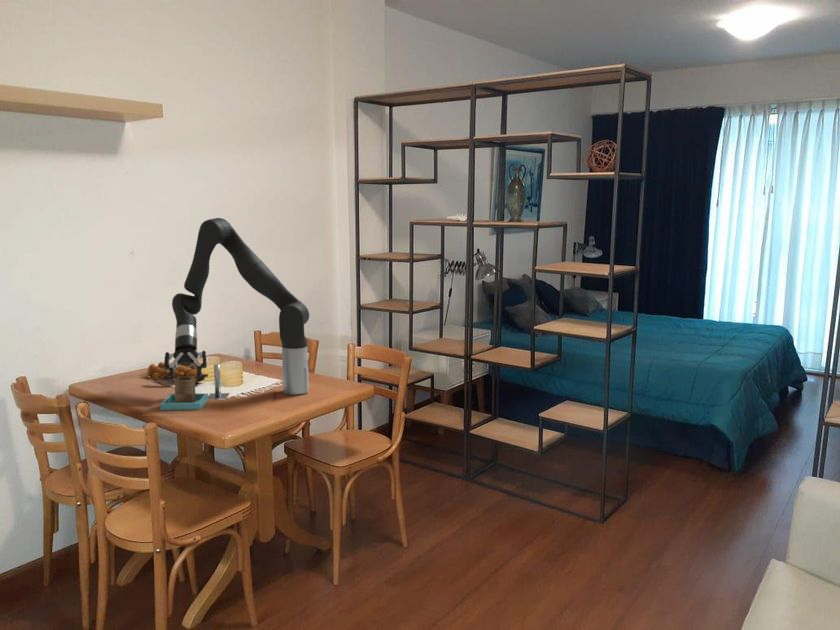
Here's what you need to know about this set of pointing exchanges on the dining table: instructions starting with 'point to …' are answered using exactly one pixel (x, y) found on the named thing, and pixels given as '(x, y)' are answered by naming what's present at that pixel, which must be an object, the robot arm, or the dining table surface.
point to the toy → (175, 372)
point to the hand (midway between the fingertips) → (185, 378)
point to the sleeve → (185, 390)
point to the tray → (172, 405)
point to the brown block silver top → (217, 385)
